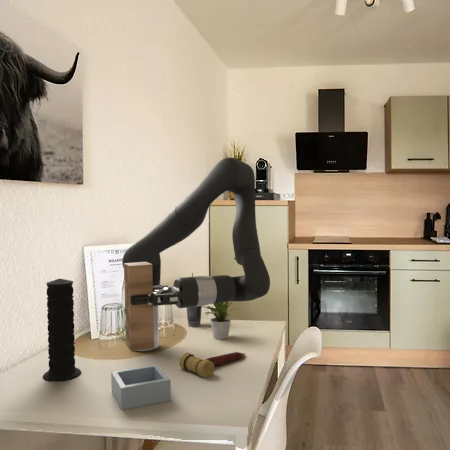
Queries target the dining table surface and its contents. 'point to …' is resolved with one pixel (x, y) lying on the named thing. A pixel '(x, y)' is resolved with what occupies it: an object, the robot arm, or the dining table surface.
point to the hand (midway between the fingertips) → (128, 298)
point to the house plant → (219, 320)
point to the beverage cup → (194, 315)
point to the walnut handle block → (138, 306)
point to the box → (140, 386)
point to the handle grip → (61, 331)
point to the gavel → (207, 362)
